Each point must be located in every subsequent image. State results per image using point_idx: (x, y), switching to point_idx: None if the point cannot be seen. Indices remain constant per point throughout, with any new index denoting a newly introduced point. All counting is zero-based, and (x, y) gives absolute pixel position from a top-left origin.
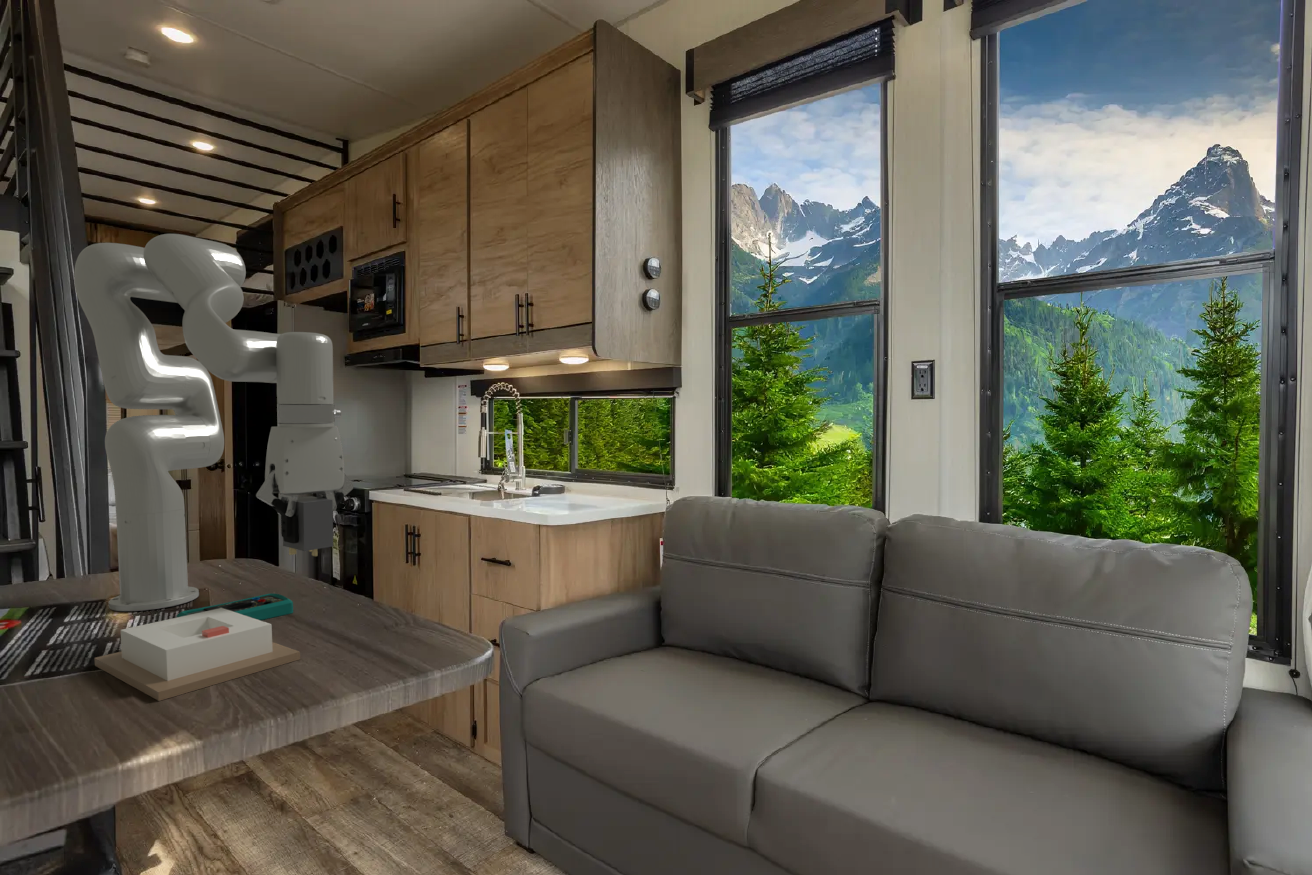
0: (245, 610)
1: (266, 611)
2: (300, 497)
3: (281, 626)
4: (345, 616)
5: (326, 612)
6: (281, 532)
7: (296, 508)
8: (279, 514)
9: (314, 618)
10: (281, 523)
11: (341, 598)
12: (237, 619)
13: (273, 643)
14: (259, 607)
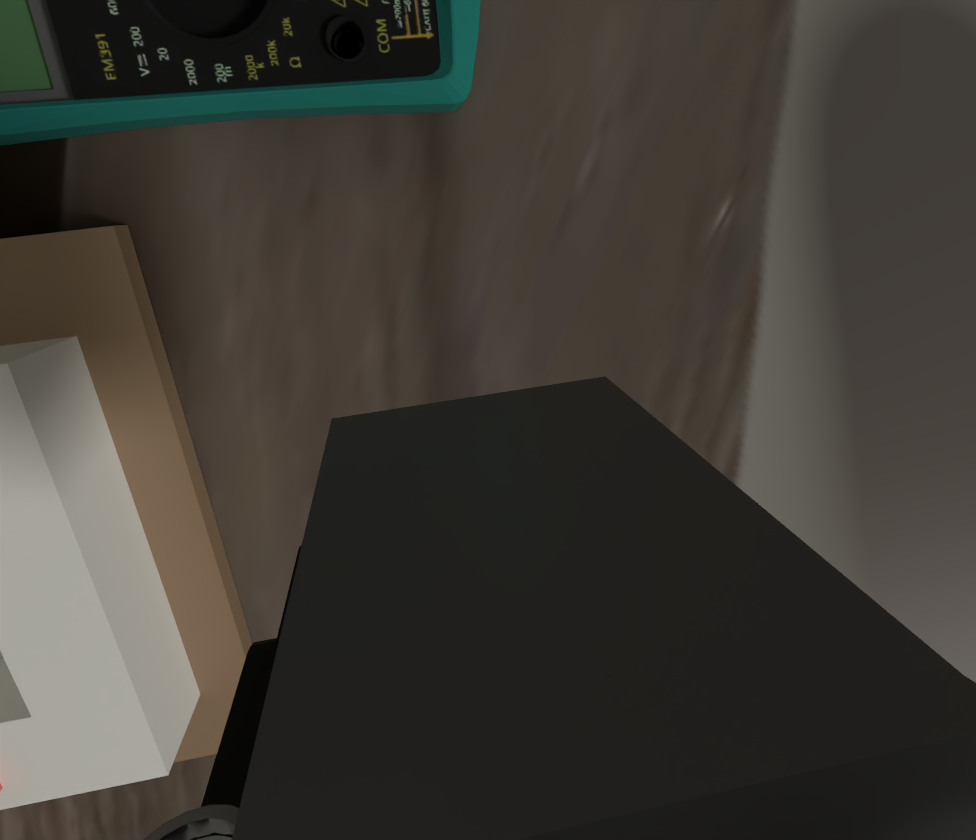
0: (211, 101)
1: (326, 109)
2: (729, 807)
3: (344, 306)
4: (587, 364)
5: (567, 234)
6: (246, 660)
7: None
8: (168, 835)
9: (490, 292)
10: (222, 750)
11: (741, 13)
12: (56, 632)
13: (224, 615)
14: (288, 97)
